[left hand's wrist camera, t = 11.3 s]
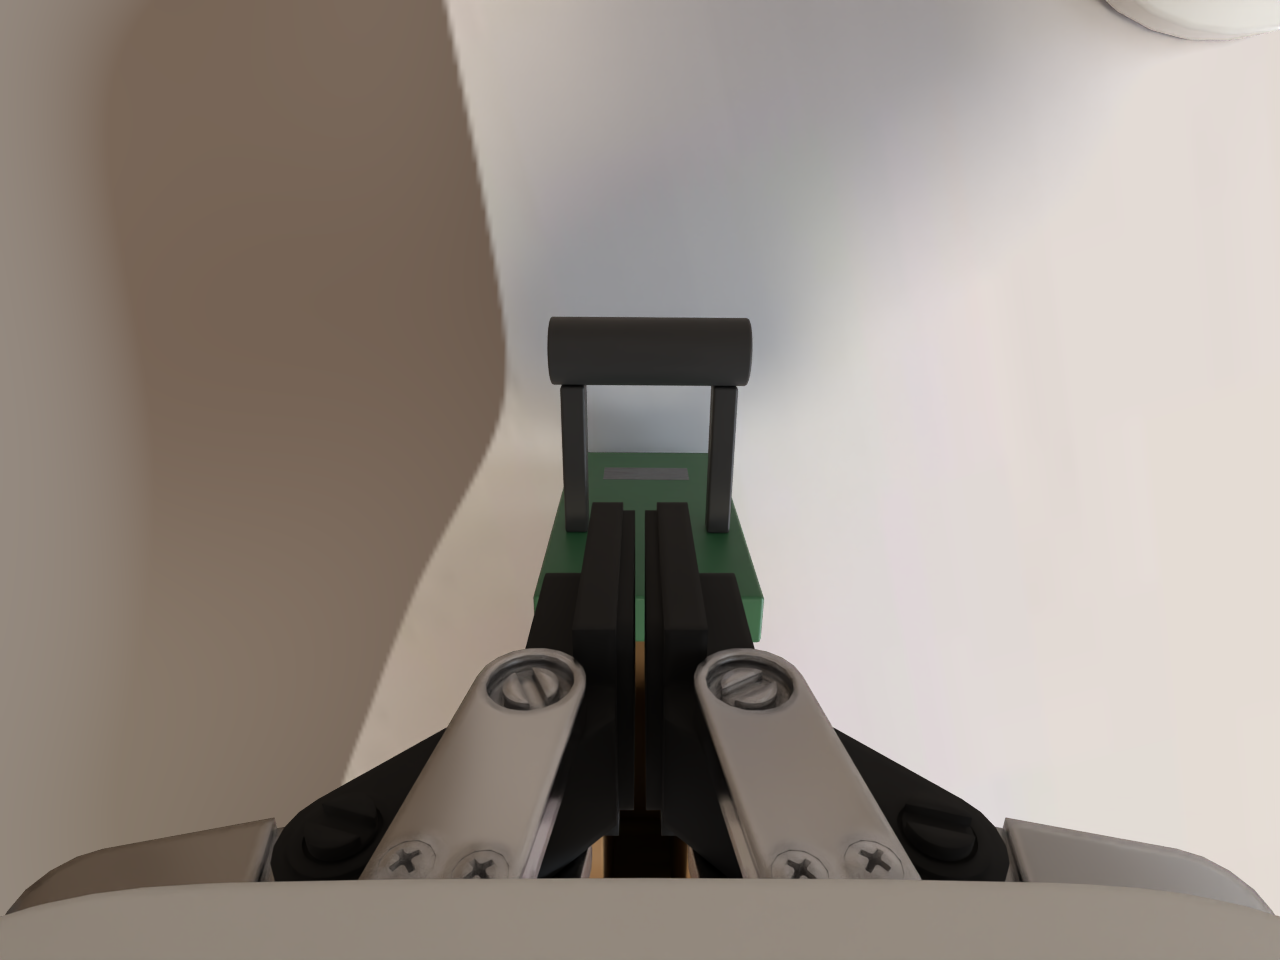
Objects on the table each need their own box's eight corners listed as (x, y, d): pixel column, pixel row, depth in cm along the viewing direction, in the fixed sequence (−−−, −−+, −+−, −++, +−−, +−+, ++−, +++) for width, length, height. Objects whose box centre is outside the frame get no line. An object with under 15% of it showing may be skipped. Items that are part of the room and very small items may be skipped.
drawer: (567, 288, 22) (517, 343, 13) (726, 289, 22) (786, 345, 13) (583, 810, 30) (559, 1066, 21) (699, 811, 30) (724, 1067, 21)
